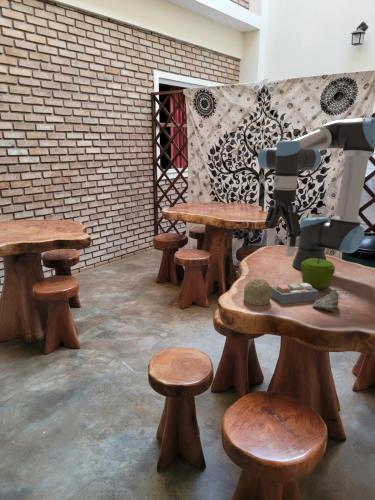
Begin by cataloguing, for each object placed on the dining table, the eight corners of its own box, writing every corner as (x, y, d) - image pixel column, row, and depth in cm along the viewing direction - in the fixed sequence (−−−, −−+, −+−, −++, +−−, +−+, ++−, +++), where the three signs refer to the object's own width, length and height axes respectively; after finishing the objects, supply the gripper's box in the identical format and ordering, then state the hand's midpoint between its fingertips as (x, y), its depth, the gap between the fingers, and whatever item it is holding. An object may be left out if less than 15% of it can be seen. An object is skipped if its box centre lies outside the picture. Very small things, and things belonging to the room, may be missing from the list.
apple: (294, 281, 147) (297, 254, 144) (323, 280, 148) (326, 254, 145) (307, 292, 135) (310, 263, 132) (338, 292, 136) (342, 263, 133)
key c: (284, 290, 130) (285, 284, 130) (289, 293, 127) (290, 288, 127) (276, 290, 129) (277, 285, 129) (281, 294, 126) (282, 288, 126)
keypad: (304, 291, 136) (305, 282, 135) (317, 299, 128) (318, 289, 127) (270, 295, 132) (270, 285, 131) (281, 304, 124) (282, 293, 123)
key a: (306, 287, 133) (306, 282, 132) (311, 291, 130) (311, 285, 129) (298, 288, 132) (298, 283, 131) (303, 291, 129) (304, 286, 128)
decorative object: (255, 316, 123) (274, 296, 119) (234, 296, 126) (251, 275, 122) (263, 309, 131) (281, 289, 127) (242, 290, 134) (259, 270, 130)
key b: (295, 289, 131) (296, 283, 131) (300, 292, 128) (301, 286, 128) (287, 289, 130) (288, 284, 130) (292, 293, 127) (293, 287, 127)
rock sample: (307, 290, 127) (328, 279, 121) (322, 302, 129) (343, 292, 123) (307, 312, 119) (330, 302, 114) (323, 325, 121) (346, 315, 116)
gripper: (258, 185, 131) (254, 242, 136) (294, 192, 108) (288, 261, 113) (276, 185, 133) (272, 242, 138) (316, 192, 109) (309, 259, 115)
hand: (279, 250), depth 125 cm, fingers open, 13 cm apart
